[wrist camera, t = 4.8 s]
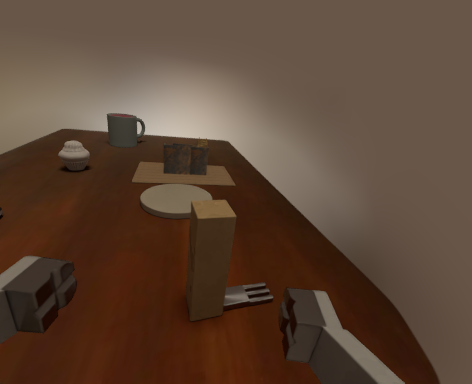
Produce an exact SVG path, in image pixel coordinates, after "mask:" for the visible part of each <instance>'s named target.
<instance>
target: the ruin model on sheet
mask: <svg viewBox="0 0 472 384" xmlns="http://www.w3.org/2000/svg"><path fill="white" fill-rule="evenodd" d="M205 147H206V148H205ZM207 160H208V146H207V139H200V138H199V143H198V145H187V144H174V143H173V145H165V143H164V163H151V162H140V164H139V166H138V168H137V171H136V173H135V175H134V178H133V180H132V182H143V183H175V184H206V185H235V183H234V182H233V180H232V179H231V177H230V176H229V174H228V172H227V171H226V169H225V168H224V166H208V165H207Z"/></svg>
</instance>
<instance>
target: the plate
mask: <svg viewBox="0 0 472 384" xmlns="http://www.w3.org/2000/svg"><path fill="white" fill-rule="evenodd" d="M199 200H212V197H211V195H210V194H209V193H208V192H207V191H205V190H203V189H201V188H198V187H195V186H191V185H184V184H164V185H158V186H154V187H151V188H149V189H147V190H145V191H144V192H143V193H142V194H141V197H140V202H141V206H142V208H143V209H144V210H145V211H147V212H148V213H150V214H152V215H155V216H158V217H163V218H170V219H185V218H190V214H191V201H199Z"/></svg>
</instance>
